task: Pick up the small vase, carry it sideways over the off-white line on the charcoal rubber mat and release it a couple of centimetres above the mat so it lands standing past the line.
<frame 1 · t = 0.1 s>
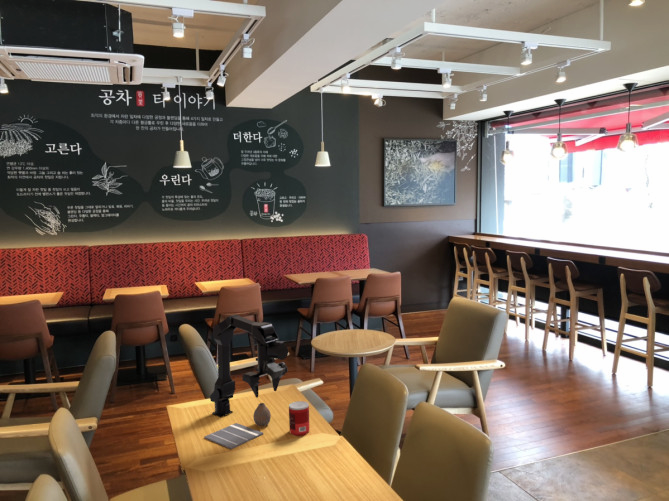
hand: (266, 394, 208), 14 cm above the table, fingers open, 9 cm apart
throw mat: (233, 436, 204), on the table
vase: (262, 425, 214), on the table
canned food: (299, 432, 206), on the table
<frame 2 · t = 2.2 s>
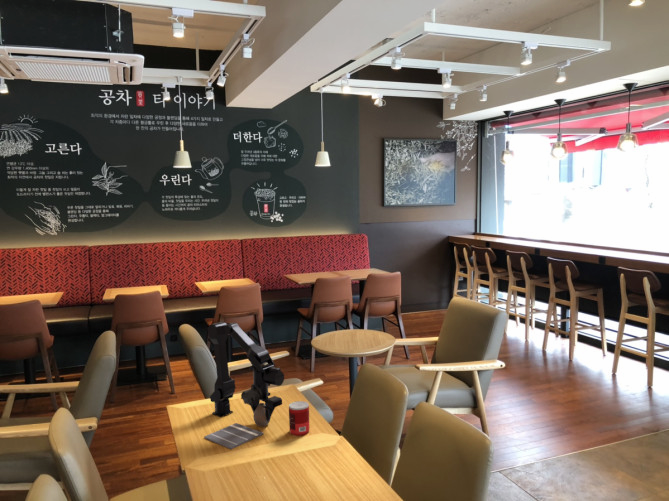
hand: (262, 418, 214), 2 cm above the table, fingers closed on vase, 7 cm apart
vase: (262, 425, 214), on the table, touching gripper
everything else where it was.
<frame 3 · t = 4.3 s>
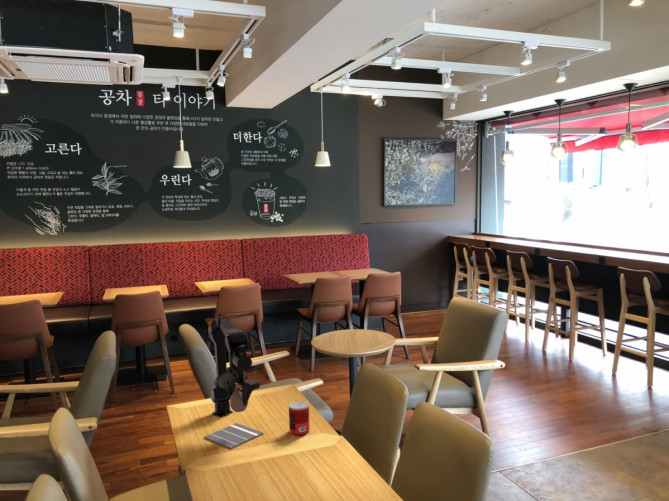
hand: (238, 403, 203), 13 cm above the table, fingers closed on vase, 7 cm apart
vase: (239, 411, 203), point 10 cm above the table, touching gripper
everything else where it was.
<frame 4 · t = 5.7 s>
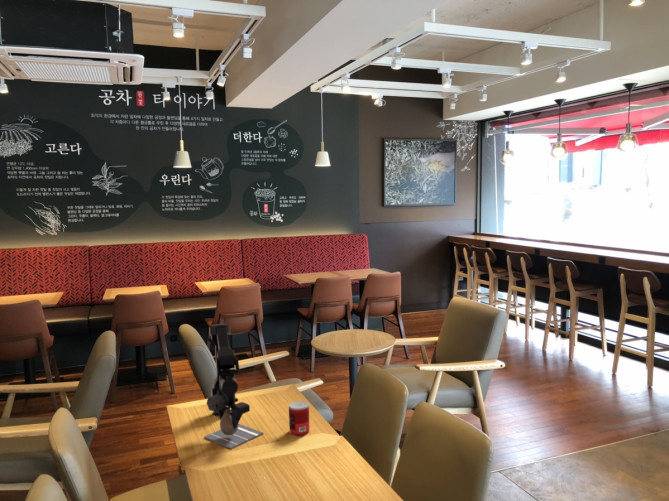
hand: (228, 426, 201), 5 cm above the table, fingers closed on vase, 7 cm apart
vase: (230, 433, 201), point 2 cm above the table, touching gripper
everything else where it was.
when the fingers open (5 cm above the table, at t = 6.7 s): vase drops 1 cm, resting on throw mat.
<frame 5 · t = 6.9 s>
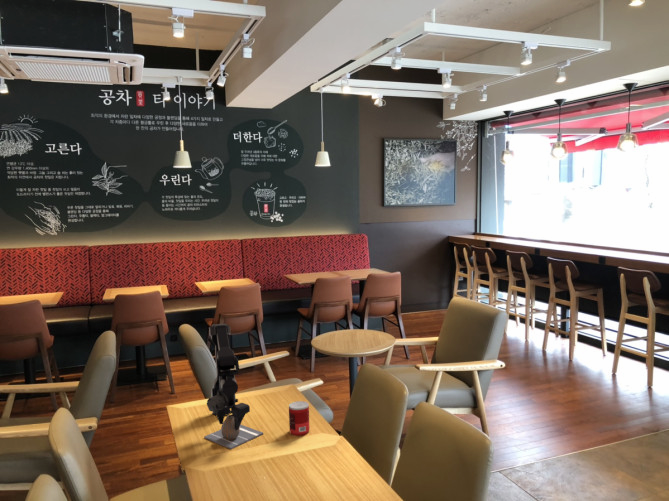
hand: (229, 426, 200), 5 cm above the table, fingers open, 9 cm apart
vase: (230, 438, 200), resting on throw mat
everything else where it was.
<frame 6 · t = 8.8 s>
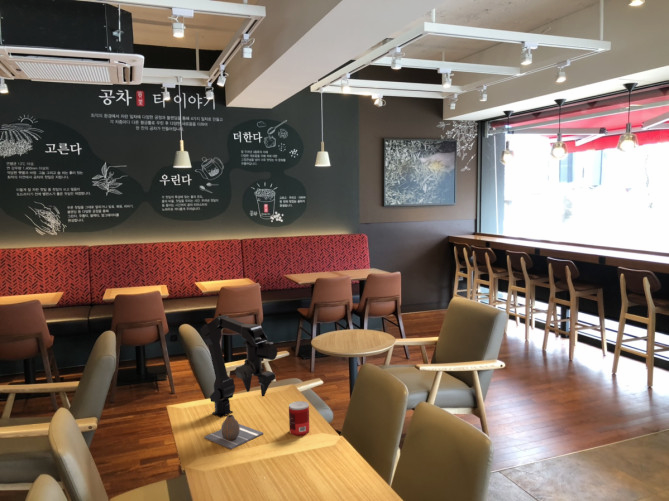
hand: (255, 393, 214), 12 cm above the table, fingers open, 9 cm apart
nothing on the table moved.
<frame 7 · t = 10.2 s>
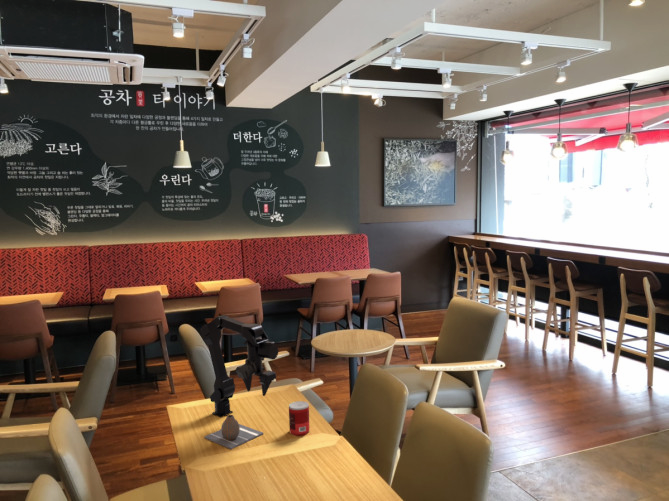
hand: (256, 393, 215), 13 cm above the table, fingers open, 9 cm apart
nothing on the table moved.
at the end: vase inside the target area (1.8 cm from its centre), resting on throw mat; vase tilted 1°; the gripper is holding nothing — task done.
